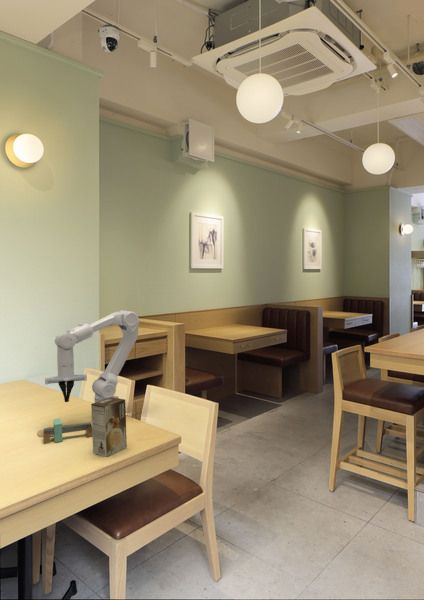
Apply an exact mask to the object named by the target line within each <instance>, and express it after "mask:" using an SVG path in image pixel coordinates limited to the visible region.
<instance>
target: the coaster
mask: <svg viewBox="0 0 424 600" xmlns="http://www.w3.org/2000/svg"><path fill="white" fill-rule="evenodd" d="M43 430H44V428H42V429H40V430H38V431H37V432H36V435H37V437H39V438H43ZM52 437H53V438H54V435H50V438H52Z"/></svg>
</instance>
